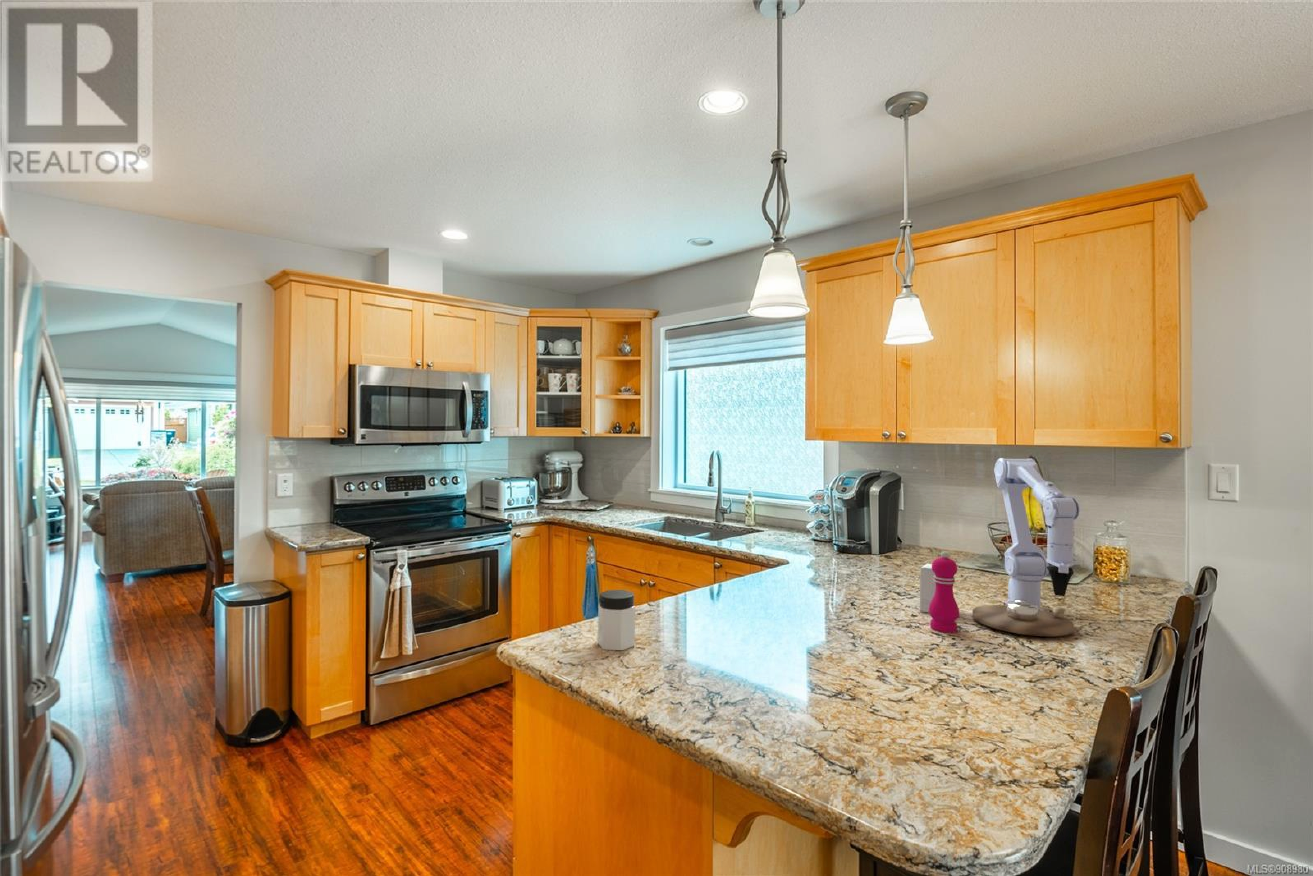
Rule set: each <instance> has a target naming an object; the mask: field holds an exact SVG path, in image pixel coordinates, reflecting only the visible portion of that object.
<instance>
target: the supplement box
mask: <svg viewBox="0 0 1313 876" xmlns="http://www.w3.org/2000/svg"><path fill="white" fill-rule="evenodd" d="M934 575H935V573H934V572H933V571H932V563H925V564H924V565H923V566H921V567H920V576H919V581H920V582H919V583H920V584H919V612H921V613H922V612H923V613H928V614H929V605H930V602H931V600H932V598H933V596H934V594H935V589H936V584H935V581H934Z"/></svg>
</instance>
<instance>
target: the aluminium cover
mask: <svg viewBox="0 0 1313 876" xmlns="http://www.w3.org/2000/svg"><path fill="white" fill-rule="evenodd" d="M1007 601H1008V600H1007ZM1006 605H1007V617H1009V618H1011V619H1014V620H1019V621H1026V622H1034V621H1037V620H1038V606H1037V605H1035V604H1033V603H1030V601H1029V600H1025V599H1015V600H1014V601H1008V602H1007V604H1006Z"/></svg>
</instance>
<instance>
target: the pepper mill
mask: <svg viewBox="0 0 1313 876" xmlns="http://www.w3.org/2000/svg"><path fill="white" fill-rule="evenodd" d="M940 556H941V557H937V558H935V559H933V561H932V563H931V564H932V571H933V572H934V573H935V575H934V581H935V584H936V589H935V594H934V596H933V598H932V600H931V602H930V605H929V613H928V615H929V616H930V617H931V618H932V619H930V622H929V623H930V627H929V628H931V630H934V631H937V632H940V633H949V632H951V633H956V632H957V630H958V623H957V622H956V621H957V620H958V619H959V617H960V608H959V605H958V604H957V601H956V600H955V599H956V598H955V597H954V584H956V581H955V580H956V577H955V575H956V574H957V572H958V564H957V563H956V561H954V560H953V559H952V558H950V557H949V553H948V552H947V551H942V552H941V553H940Z"/></svg>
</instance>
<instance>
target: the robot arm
mask: <svg viewBox="0 0 1313 876" xmlns="http://www.w3.org/2000/svg"><path fill="white" fill-rule="evenodd" d="M993 471H994V476H995V483H996V485H997V488H998V489H1000V490H1001V491H1002V496H1003V502H1004V507H1005V511H1006V515H1007V516H1006V518H1007V521H1008V527H1009V531H1010V536H1011V541H1012V544H1011V546H1010V547H1009V548H1007V549H1006V550H1005V551H1004V569H1005V572H1006V573H1007V574H1008V576H1009V577H1010V578H1009V580H1008V583H1007V586H1008V587H1007V600H1006V601H1005V600H1004V604H1006V605H1007V602H1008V601H1014V600H1015V599H1025V600H1029V601H1030V603H1033V604H1035V605H1037V606H1038V610H1042V611H1046V610H1045V609H1043V608H1042V607H1041V600H1042V599H1041V595H1042V594H1041V593H1042V591H1041V589H1042V586H1041V585H1042V581H1044V580H1045V579H1044V578H1046V576H1047V575H1050V579H1051V584H1052V585H1051V586H1052V590H1053V593H1054V596H1056V597H1057V596H1058V597H1065V595H1066V593H1067V588H1068V586H1069V583H1070V579H1071V577H1072V576H1073V575H1074V573H1075V571H1074V570H1073V568H1072V567H1073V566H1079V565H1080V562H1079V561H1078V560H1074V538H1075V535H1074V532H1075V527H1074V526H1075V520H1077V519H1078V518H1079V514H1080V505H1079V502H1078V500H1077V499H1076V498H1075V497H1073V496H1072V497H1071V496H1065V495H1064V493H1062V492H1061V490H1060V489H1059V488H1057V486H1056V485H1055V484H1054V482H1053V481H1047V480H1044V478H1043V477H1042V476H1041V474H1040V473H1039V472H1038V463H1037V462H1036V461H1035V460H1034V458H1003V457H999V458H998V459H997V460H996V462H995V464H994V469H993ZM1029 488H1031V489H1032V496H1033V497H1034V499H1036V500H1037V502H1039V504H1040V505H1041V506H1042V511H1043V515H1044V523H1045V525H1046V526H1047V538H1046V539H1047V542H1046V543H1047V544H1046V545H1047V546H1046V547H1047V548H1046V550H1047V551H1046V555H1047V557H1046V556H1045V553H1044V550H1043V549H1042V548H1040V547H1039V546H1038V545H1036V544H1034V543H1033V538H1032V534H1031V529H1030V525H1029V519H1028V515H1027V510H1026V509H1027V508H1026V506H1025V501H1024V497H1023V492H1024V490H1026V489H1029ZM1049 564H1050V565H1049ZM1051 565H1052V566H1051Z"/></svg>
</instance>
